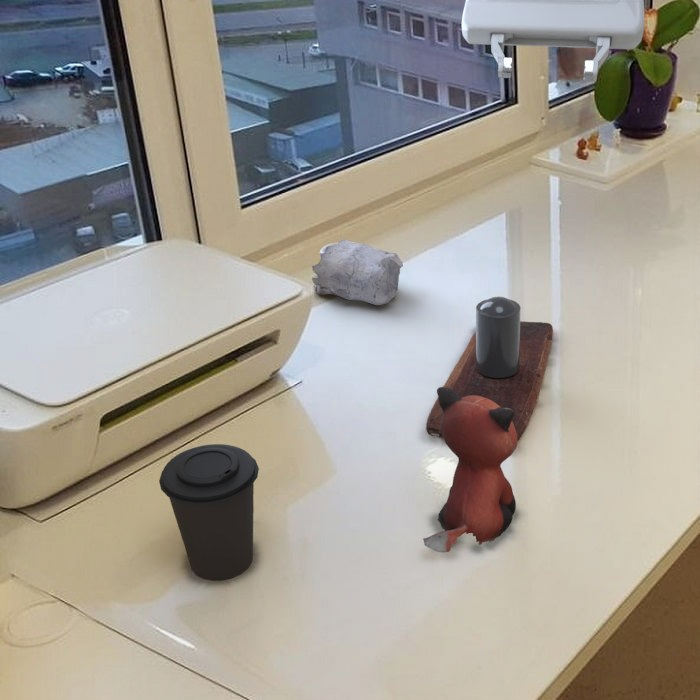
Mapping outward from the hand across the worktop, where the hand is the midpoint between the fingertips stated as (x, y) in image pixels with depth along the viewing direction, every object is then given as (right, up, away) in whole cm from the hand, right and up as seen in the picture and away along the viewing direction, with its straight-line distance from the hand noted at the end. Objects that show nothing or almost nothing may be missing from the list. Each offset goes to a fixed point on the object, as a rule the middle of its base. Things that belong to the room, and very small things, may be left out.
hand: (547, 77), depth 119 cm
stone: (-21, -24, +17) cm, 36 cm away
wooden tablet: (-6, -34, -4) cm, 35 cm away
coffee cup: (-33, -49, -28) cm, 65 cm away
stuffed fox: (-12, -46, -26) cm, 54 cm away
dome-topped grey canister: (-6, -32, -5) cm, 33 cm away
